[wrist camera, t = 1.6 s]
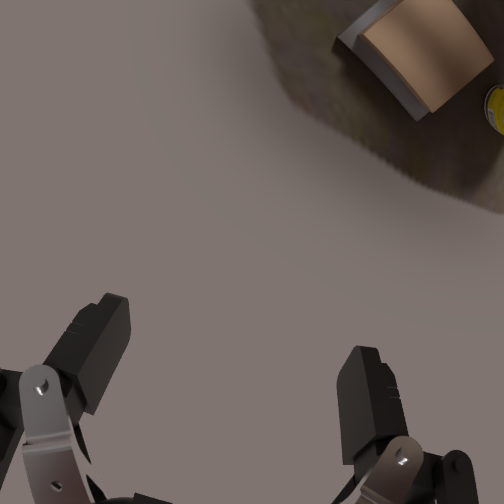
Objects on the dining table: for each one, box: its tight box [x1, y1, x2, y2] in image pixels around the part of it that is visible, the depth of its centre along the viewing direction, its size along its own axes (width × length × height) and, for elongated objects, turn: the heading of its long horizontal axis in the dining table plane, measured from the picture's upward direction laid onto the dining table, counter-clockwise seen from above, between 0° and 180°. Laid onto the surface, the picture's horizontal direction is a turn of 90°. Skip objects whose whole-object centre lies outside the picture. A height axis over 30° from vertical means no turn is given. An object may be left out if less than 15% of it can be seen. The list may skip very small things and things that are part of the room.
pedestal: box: [337, 0, 494, 122], centre depth 20 cm, size 12×11×4 cm
